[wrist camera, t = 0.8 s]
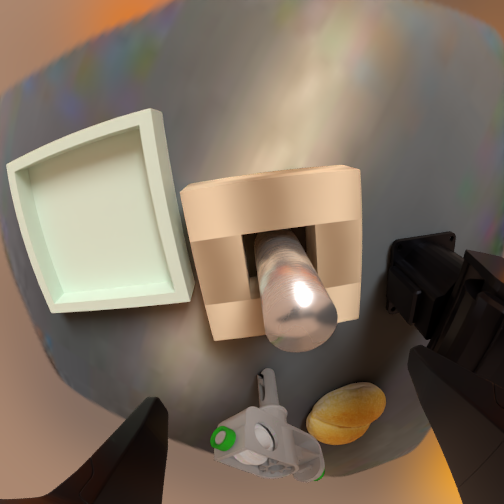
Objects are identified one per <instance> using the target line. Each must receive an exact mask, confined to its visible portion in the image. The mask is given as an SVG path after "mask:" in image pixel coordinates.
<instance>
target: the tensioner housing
mask: <svg viewBox="0 0 504 504" xmlns="http://www.w3.org/2000/svg"><path fill="white" fill-rule="evenodd" d="M180 195H181V200H182V205H183V210H184V215H185V220H186V225H187V230H188V235H189V240H190V244H191V249H192V253H193V258H194V262H195V267H196V271H197V275H198V279H199V284H200V288H201V292H202V296H203V300H204V304H205V308H206V312H207V316H208V320H209V324H210V327H211V331H212V335H213V339H214V341H218V340H227V339H236V338H244V337H252V336H260V335H266V333H265V327H264V319H263V312H262V305H261V297H260V290H259V282H258V276H257V277H250V278H249V272H248V265H247V259H246V252H245V246H244V239H243V234H250V233H257V232H264V231H272V230H279V229H287V228H294V227H302V226H305V232H306V247H307V256H308V258H309V260H310V262H311V263H312V265H313V267H314V269H315V271H316V272H317V274H318V276H319V278H320V280H321V282H322V283H323V285H324V287H325V289H326V291H327V293H328V294H329V296H330V298H331V300H332V302H333V304H334V306H335V308H336V310H337V314H338V320H337V323H339V322H344V321H349V320H354V319H358V318H359V306H360V290H361V267H362V200H361V178H360V170H359V169H356V168H352V167H348V166H344V165H334V166H322V167H310V168H300V169H290V170H281V171H273V172H265V173H257V174H249V175H242V176H235V177H229V178H222V179H216V180H210V181H204V182H198V183H192V184H189V185H187V186H186V187H185V188H184V189H183V190H182V191H181V192H180Z"/></svg>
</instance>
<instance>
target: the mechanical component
mask: <svg viewBox="0 0 504 504" xmlns="http://www.w3.org/2000/svg"><path fill="white" fill-rule="evenodd" d="M261 374H262V375H264V379H263V378H262V377H260V376H259V375H257V380H258V392H259V405H260V408H257V407H254V406H251V407H248V408H247V409H245V410H243V411H241V412H239V413H238V414H236V415H234V416H232V417H230V418H228V419H226V420H225V421H223V422H221V423H219V425H218V427H217V429H216V430H215V431H214V432H213V434H212V436H211V439H210V443H211V446H212V447H213V448H214V460H215V461H217V462H220V463H223V464H226V465H228V466H231V467H234V468H237V469H240V470H242V471H245V472H248V473H252V474H255V475H256V476H258V477H262V478H269V479H274V478H283V477H286V476H288V475H291V474H293V476H294V478H295V479H296V480H298V481H301V482H306V483H307V482H311V481H318V480H320V479H321V478H322V477H323V476H324V473H325V469H324V468H325V463H324V458H323V454H322V450H321V447H320V445H319V443H318V441H317V440H316V439H315V438H314V437H313V436H312V435H310V434H308V433H306V432H304V431H302V430H300V429H298V428H296V427H293V426H291V425H289V424H287V420H286V416H287V410H286V409H285V408H284V407H282V406H280V405H279V400H278V393H277V386H276V379H275V373H274V371H273V370H272V369H269V368H266V369H264V370H263V371H262V373H261ZM233 456H234V457H235V458H236V459H235V458H234V457H233Z"/></svg>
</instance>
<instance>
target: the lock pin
mask: <svg viewBox="0 0 504 504" xmlns="http://www.w3.org/2000/svg"><path fill="white" fill-rule="evenodd" d="M254 253H255V260H256V268H257V275H258V282H259V290H260V297H261V305H262V312H263V319H264V327H265V333H266V336H267V338H268V339H269V341H270V342H271V343H272V344H273V345H274V346H275V347H277V348H279V349H281V350H284V351H288V352H304V351H308V350H311V349H314V348H316V347H318V346H320V345H321V344H323V343H324V342H325V341H326V340H327V339H328V338H329V337H330V336H331V335H332V333H333V332H334V330H335V328H336V325H337V320H338V314H337V310H336V308H335V306H334V304H333V302H332V300H331V298H330V296H329V294H328V293H327V291H326V289H325V287H324V285H323V283H322V282H321V280H320V278H319V276H318V274H317V272H316V271H315V269H314V267H313V265H312V263H311V262H310V260H309V258H308V256H307V255H306V253H305V251H304V249H303V248H302V246H301V244H300V242H299V241H298V239H297V237H296V235H295V234H294V232H293V231H292V230H291V229H290V228H287V229H279V230H272V231H264V232H259V233H258V234H257V236H256V238H255V241H254Z"/></svg>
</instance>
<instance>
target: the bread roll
mask: <svg viewBox="0 0 504 504" xmlns="http://www.w3.org/2000/svg"><path fill="white" fill-rule="evenodd" d="M385 405H386V399H385V395H384V393H383V392H382V390H381V389H380V388H378V387H377V386H375V385H374V384H372V383H368V382H360V383H353V384H349V385H347V386H344V387H341V388H338V389H336V390H334V391H331V392H329V393H327V394H326V395H324V396H323V397H322V398H321V399H320V400H318V402H317V403H316V404H315V405H314V407H313V409H312V411H311V412H310V413H309V415H308V417H307V420H306V427H307V430H308V432H309V433H310V434H311V435H312V436H313V437H314V438H315V439H316V440H318V441H320V442H323V443H325V444H331V445H341V444H347V443H350V442H352V441H354V440H356V439H358V438H359V437H361V436H362V435H363V434H364V433H365V432H366V430H367V429H368V427H369V425H370V423H371V422H373V421H374V420H376V419H377V418H378V417H379V416H380V415H381V414H382V413H383V411H384V408H385Z"/></svg>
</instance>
